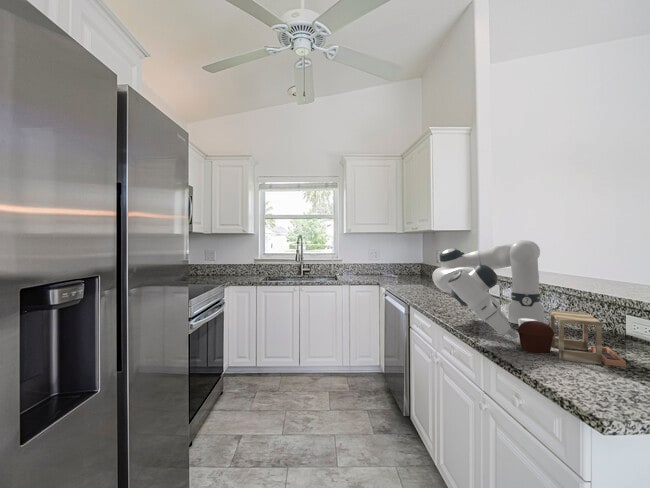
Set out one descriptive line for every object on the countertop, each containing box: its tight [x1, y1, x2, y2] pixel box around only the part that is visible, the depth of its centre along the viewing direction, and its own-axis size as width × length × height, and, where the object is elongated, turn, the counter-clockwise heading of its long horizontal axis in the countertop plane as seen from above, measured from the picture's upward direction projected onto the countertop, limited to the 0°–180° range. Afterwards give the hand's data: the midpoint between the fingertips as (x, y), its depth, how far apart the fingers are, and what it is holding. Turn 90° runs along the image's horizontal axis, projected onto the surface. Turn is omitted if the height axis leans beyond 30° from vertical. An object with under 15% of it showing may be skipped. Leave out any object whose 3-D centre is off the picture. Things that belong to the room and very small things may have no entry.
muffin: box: [516, 321, 556, 355], centre depth 122 cm, size 12×11×10 cm
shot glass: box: [518, 318, 537, 327], centre depth 139 cm, size 7×7×7 cm
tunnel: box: [549, 309, 603, 365], centre depth 117 cm, size 16×11×13 cm
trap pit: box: [590, 345, 627, 368], centre depth 114 cm, size 16×5×2 cm, turn 156°
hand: (516, 337), depth 124 cm, fingers closed
